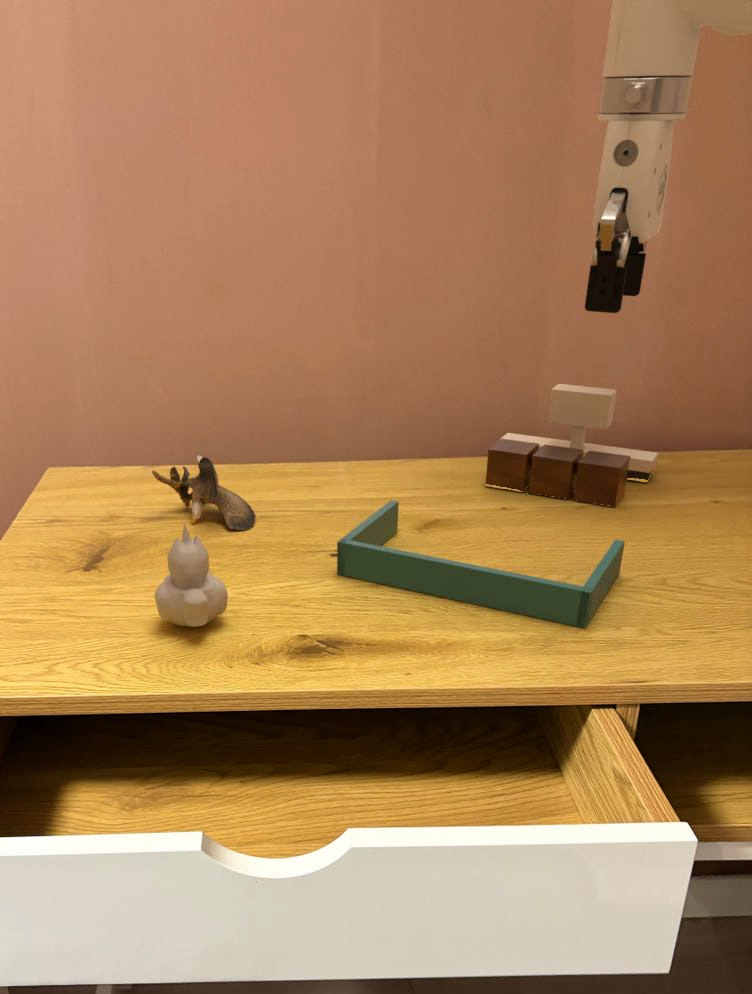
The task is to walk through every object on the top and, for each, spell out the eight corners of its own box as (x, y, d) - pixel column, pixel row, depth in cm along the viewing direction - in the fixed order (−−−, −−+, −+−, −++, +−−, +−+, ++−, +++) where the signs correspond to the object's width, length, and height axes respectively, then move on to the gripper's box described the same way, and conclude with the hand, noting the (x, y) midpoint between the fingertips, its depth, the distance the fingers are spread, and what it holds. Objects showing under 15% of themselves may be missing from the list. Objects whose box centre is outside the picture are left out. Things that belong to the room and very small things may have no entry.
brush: (654, 475, 101) (668, 394, 97) (648, 484, 99) (662, 401, 95) (505, 454, 108) (512, 377, 104) (496, 462, 106) (503, 384, 102)
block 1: (535, 481, 101) (539, 443, 99) (523, 493, 98) (527, 454, 96) (497, 475, 103) (501, 438, 101) (485, 487, 100) (488, 449, 98)
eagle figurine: (141, 512, 92) (207, 516, 87) (158, 440, 93) (225, 439, 87) (196, 533, 98) (262, 538, 92) (212, 465, 99) (278, 466, 93)
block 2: (578, 487, 99) (583, 449, 97) (567, 500, 96) (573, 461, 94) (540, 481, 101) (544, 444, 99) (528, 493, 98) (532, 455, 96)
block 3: (624, 494, 97) (630, 455, 95) (614, 507, 94) (620, 467, 92) (583, 488, 98) (589, 450, 97) (573, 501, 96) (578, 461, 94)
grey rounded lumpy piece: (220, 602, 78) (215, 508, 74) (236, 640, 72) (231, 541, 68) (153, 610, 77) (144, 515, 73) (163, 650, 71) (154, 549, 67)
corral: (619, 574, 81) (625, 540, 79) (585, 628, 73) (590, 592, 71) (389, 530, 90) (390, 500, 89) (336, 574, 82) (337, 541, 81)
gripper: (672, 102, 78) (636, 322, 86) (701, 100, 91) (667, 291, 100) (578, 103, 81) (551, 315, 89) (618, 101, 94) (592, 286, 103)
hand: (612, 302), depth 95 cm, fingers open, 9 cm apart
